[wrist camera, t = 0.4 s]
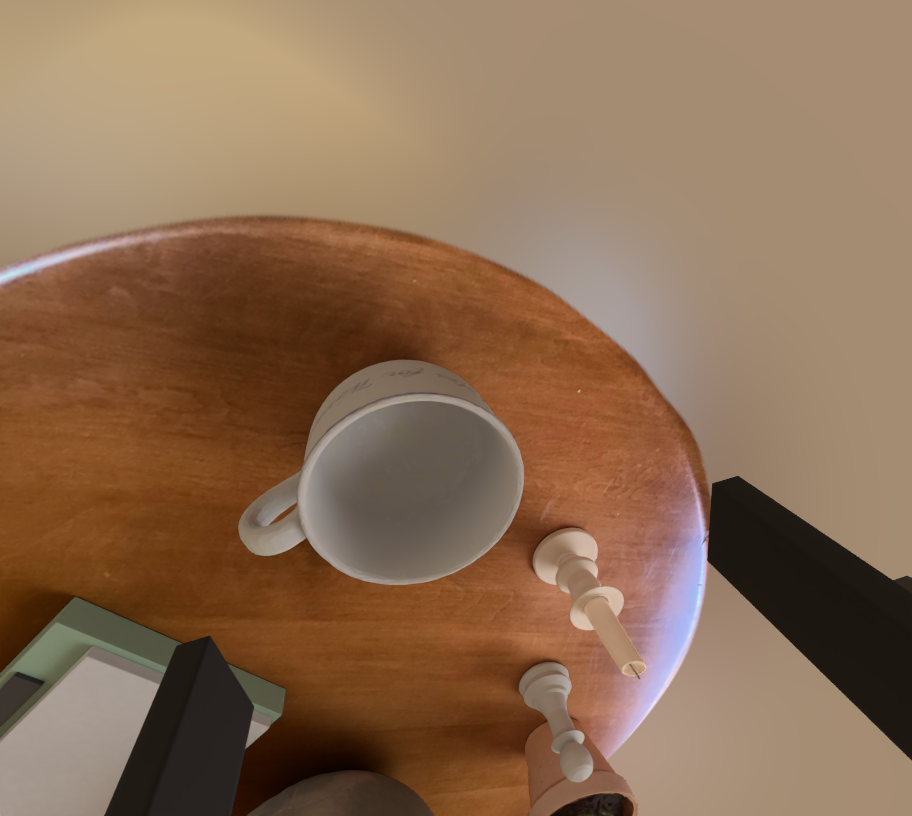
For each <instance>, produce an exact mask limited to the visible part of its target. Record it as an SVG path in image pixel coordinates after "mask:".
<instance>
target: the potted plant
mask: <svg viewBox="0 0 912 816" xmlns="http://www.w3.org/2000/svg"><path fill="white" fill-rule="evenodd" d="M570 719H571V718H570ZM571 721H572V723H573V725H574V727H575V729H576V730H579V731H581V732H582V733H583V734H584V737H585V738H584V741H583V743H582V745H584V746H585V747H586V748H587V750H588V751H589V752H590V755H591V757H592V760H593V771H592V773H591V775H590V776H589V777H588V778H587V779H586V780H584V781H582V782H572V781H570V780H569V779H568V778H566V776H565V775H564V774H563V772H562V770H561V767H560V762H559V756H560V754H558V753H555V752H553V751H552V749H551V745H552V743H553V740H554V738H553V735H552V732H551V729H550V726H549V722H546V723H544V724H542V725H540V726H539V727H537V728H536V729H535V730H534V731H533V732H532V733H531V734H530V735H529V736H528V739H527V742H526V744H525V758H526V762H527V766H528V779H529V795H530V806H531V810H530V812H529V814H528V816H637V810H638V808H637V807H638V804H637V802H636V799H635V796H634V795H633V793H632V791H631V789H630V787H629V785H628V784H627V782H626V780H625V779H624V778H623V777H621V776H620V775H618V774H616V773H615V771H614V770H613V769H612V768H611V766H610V765H609V763H608V762H607V761H606V759H605V758H604V757H603V755H602V754H601V753H600V751H599V750H598V748H597V747H596V746H595V744H594V743H593V742H592V740H591V739H590V737H589V736H588V735H587V733H586V731H585V730H584V728H583V727H582V725H581V724H580V723H579V722H578V721H577V720H574V719H571Z"/></svg>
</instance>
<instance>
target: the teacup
mask: <svg viewBox="0 0 912 816" xmlns="http://www.w3.org/2000/svg"><path fill="white" fill-rule="evenodd" d="M523 484H524V465H523V461H522V457H521V454H520V451H519V448H518V446H517V443H516V441H515V439H514V437H513V435H512V434H511V433H510V431H509V430H508V428H507V427H506V426H505V425H504V423H503V422H502V421H501V420H500V419H499V418H497V417H496V416H495V415H494V413H493V412H492V410H491V409H490V408H489V406H488V405H487V404H486V402H485V401H484V400H483V399H482V398H481V396H480V395H479V394H478V393H477V392H476V391H475V390H474V389H473V387H472V386H470V385H469V384H468V383H467V382H466V381H465V380H463V379H462V378H461V377H459V376H458V375H456V374H455V373H453V372H451V371H449V370H448V369H446V368H443V367H441V366H438V365H435V364H432V363H428V362H423V361H418V360H393V361H387V362H382V363H378V364H375V365H372V366H369V367H366V368H364V369H362V370H360V371H358V372H356V373H354V374H353V375H351V376H350V377H348V378H347V379H345V380H344V381H343V382H342V383H340V384H339V385H338V386H337V387H336V388H335V389H334V390H333V391H332V392H331V393H330V395H329V396H328V397H327V398H326V400H325V401H324V402H323V404H322V406H321V407H320V409H319V411H318V412H317V414H316V417H315V419H314V421H313V424H312V427H311V430H310V433H309V437H308V442H307V447H306V452H305V458H304V464H303V467H302V469H301V471H300V472H298V473H296V474H295V475H293V476H291V477H289V478H288V479H286V480H284V481H283V482H281V483H279V484H278V485H276V486H275V487H273V488H271V489H270V490H268V491H267V492H265V493H264V494H263V495H261V496H260V497H259V498H257V499H256V500H255V501H254V502H253V503H252V504H251V505H250V506H249V507H248V508H247V509H246V510H245V511H244V513H243V515H242V517H241V519H240V522H239V527H238V528H239V534H240V537H241V540H242V541H243V543H244V544H245V545H246V547H247V548H248V549H249V550H250V551H251V552H252V553H255V554H257V555H262V556H269V555H276V554H279V553H281V552H284V551H287V550H289V549H290V548H292V547H294V546H295V545H297V544H298V543H300V542H301V541H302V540H304V539H305V538H307V539H308V541H309V542H310V544H311V545H312V546H313V548H314V549H315V550H316V551H317V552H318V553H319V554H320V556H322V557H323V558H324V559H325V560H327V561H328V562H329V563H330V564H331V565H332V566H334V567H335V568H336V569H338V570H339V571H341V572H343V573H345V574H347V575H349V576H351V577H354V578H357V579H361V580H364V581H368V582H373V583H380V584H386V585H389V584H391V585H405V584H413V583H423V582H427V581H432V580H435V579H438V578H441V577H444V576H447V575H449V574H452V573H455V572H456V571H458V570H460V569H462V568H464V567H466V566H467V565H469V564H471V563H472V562H474V561H475V560H477V559H478V558H480V557H481V556H482V555H483V554H485V553H486V552H487V551H488V550H489V549H490V548H491V547H492V546H493V545H494V544H496V543H497V542H498V540H499V539H500V538H501V537H502V536H503V534H504V533H505V531H506V530H507V529H508V527H509V526H510V524H511V522H512V520H513V518H514V516H515V514H516V511H517V509H518V507H519V504H520V500H521V495H522V491H523ZM295 503H297V507H296V508H295V509H294V510H293V511H292V512H291V513H290V514H289V515H287V516H286V517H285V518H283V519H282V520H280V521H278V522H277V523H274V524H272V525H269V524H270V523H271V522H272V521H273V520H274V519H275V518H276V517H277V516H278V515H279V514H281V513H282V512H283V511H285V510H286V509H288V508H289V507H290V506H292V505H293V504H295ZM268 525H269V526H268Z"/></svg>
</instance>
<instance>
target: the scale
mask: <svg viewBox="0 0 912 816" xmlns="http://www.w3.org/2000/svg"><path fill="white" fill-rule="evenodd" d="M180 644H182V643H180V642H178V641H175V640H173V639H171V638H169V637H166V636H164V635H162V634H159V633H157V632H155V631H153V630H150V629H148V628H146V627H144V626H141V625H139V624H137V623H135V622H132V621H130V620H128V619H125V618H123V617H121V616H119V615H116V614H114V613H112V612H110V611H107V610H105V609H103V608H101V607H98V606H96V605H94V604H91V603H89V602H87V601H85V600H82V599H80V598H78V597H74V598H73V599H72V600H71V601H70V602H69V603H68V604H67V605H66V606H65V607H64V608H63V609H62V610H61V611H60V613H59V614H58V615H57V616H56V617H55V618H54V619H53V620H52V621H51V622H50V623H49V624H48V625H47V626H46V627H45V628H44V629H43V630H42V631H41V632H40V633H39V634H38V635H37V636H36V637H35V638H34V639H33V640H32V641H31V642H30V643H29V644H28V645H27V646H26V647H25V648H24V649H23V650H22V651H21V652H20V653H19V654H18V655H17V656H16V658H15V659H14V660H13V661H12V662H11V663H10V664H9V665H8V666H7V667H6V668H5V669H4V670H3V671H2V672H1V673H0V816H104V815H105V813H106V810H107V808H108V806H109V803H110V801H111V799H112V796H113V794H114V792H115V789H116V787H117V784H118V782H119V780H120V777H121V775H122V773H123V770H124V768H125V766H126V763H127V761H128V759H129V756H130V754H131V751H132V749H133V747H134V744H135V742H136V740H137V737H138V735H139V733H140V730H141V728H142V726H143V723H144V721H145V719H146V716H147V714H148V711H149V709H150V707H151V704H152V702H153V700H154V697H155V695H156V693H157V690H158V688H159V686H160V683H161V681H162V678H163V676H164V674H165V671H166V669H167V667H168V664H169V662H170V660H171V657H172V655H173V653H174V650H175V648H176V646H177V645H180ZM228 665H229V667H230V669H231V670H232V672H233V673H234V675H235V676H236V678H237V680H238V681H239V683H240V684H241V686H242V688H243V689H244V691H245V692H246V694H247V696H248V697H249V699H250V700H251V702H252V704H253V705H254V711H253V715H252V720H251V725H250V730H249V734H248V739H247V744H246V748H247V747H248V746H250V745H251V744H252V743H253V742H254V741H255V740H256V739H257V738H259V737H260V736H261V735H262V734H263V733H264V732H265V731H267V730H268V729H269V728H270V725H271V724H272V723H273V722H274V721H276V720H277V719H278V718H279V717H280V716H281V715H282V711H283V704H284V698H285V691H286V689H284V688H282V687H280V686H277V685H275V684H273V683H270V682H268V681H266V680H264V679H261V678H259V677H257V676H255V675H252V674H250V673H248V672H246V671H243V670H241V669H239V668H236V667H234V666H232V665H230V664H228ZM246 748H245V749H246Z"/></svg>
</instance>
